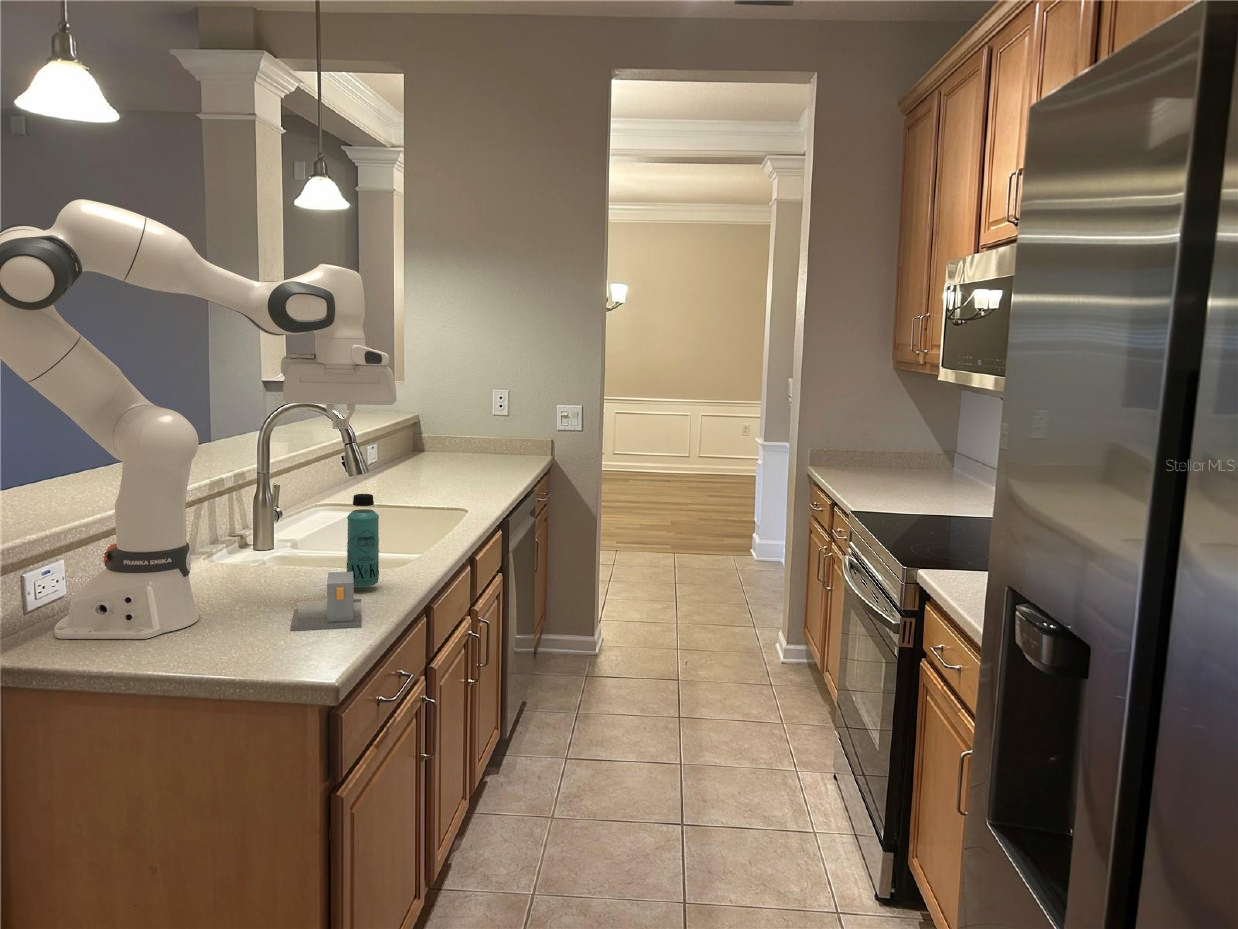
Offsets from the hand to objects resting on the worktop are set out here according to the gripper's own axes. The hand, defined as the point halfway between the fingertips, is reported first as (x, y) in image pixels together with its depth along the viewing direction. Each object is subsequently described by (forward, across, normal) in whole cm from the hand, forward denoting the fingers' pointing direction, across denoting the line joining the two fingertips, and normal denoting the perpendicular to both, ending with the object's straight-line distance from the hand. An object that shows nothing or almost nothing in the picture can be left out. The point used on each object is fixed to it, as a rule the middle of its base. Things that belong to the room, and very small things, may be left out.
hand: (340, 428), depth 171 cm
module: (+34, 0, -7) cm, 34 cm away
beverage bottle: (+35, +4, +13) cm, 37 cm away
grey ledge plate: (+35, -2, -7) cm, 36 cm away
